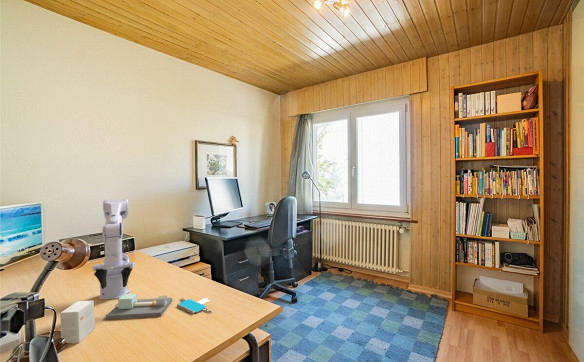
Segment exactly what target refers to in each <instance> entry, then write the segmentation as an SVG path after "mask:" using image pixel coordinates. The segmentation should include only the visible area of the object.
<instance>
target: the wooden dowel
mask: <svg viewBox="0 0 584 362" xmlns="http://www.w3.org/2000/svg"><path fill="white" fill-rule="evenodd" d="M114 305H115V307H114V308H119V306H118V303H116V304H114ZM155 305H156V301H153V302H141V303H133V307H137V306H155ZM165 305H166V302H165Z"/></svg>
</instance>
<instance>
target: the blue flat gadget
mask: <svg viewBox="0 0 584 362" xmlns="http://www.w3.org/2000/svg"><path fill="white" fill-rule="evenodd" d="M205 298H206V299H205ZM208 299H209V298H207V297H204V298H202V299H201V300H198V301H195V300H192V299H190V298H188V299H184V298H180V299H179V301H180V302H179V303H177V304H176V307H177V308H179V309H180V310H181V309H182V310H183V309H184V310H183V311H185V312H187V313H190V314H192V315H194V314H195V313H196V314H198V313H201V312H204V313H207V314H210V313H212V311H211V310H210V309H208V308H207V307H208V306H207V305H204V304H206V303H208V302H211V299H209V300H208ZM203 309H206V310H203ZM207 310H209V311H207ZM197 312H198V313H197Z"/></svg>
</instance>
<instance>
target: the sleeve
mask: <svg viewBox="0 0 584 362" xmlns="http://www.w3.org/2000/svg"><path fill="white" fill-rule="evenodd" d="M117 300H118V303H117V304H118V306H119V309H130V308H133V303H137V300H138V293H127V294H124V295H123V296H122V297H120V298H117Z"/></svg>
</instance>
